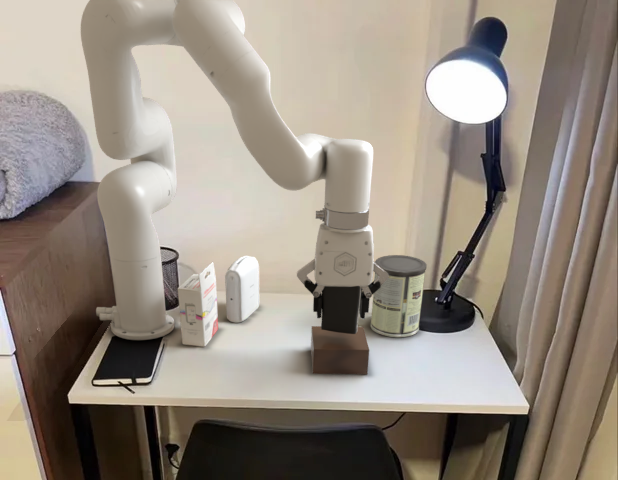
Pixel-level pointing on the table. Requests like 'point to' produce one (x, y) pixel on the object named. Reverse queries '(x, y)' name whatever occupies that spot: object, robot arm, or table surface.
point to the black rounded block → (341, 309)
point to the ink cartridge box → (198, 307)
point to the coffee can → (398, 296)
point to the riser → (339, 352)
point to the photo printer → (242, 288)
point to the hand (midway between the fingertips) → (340, 315)
